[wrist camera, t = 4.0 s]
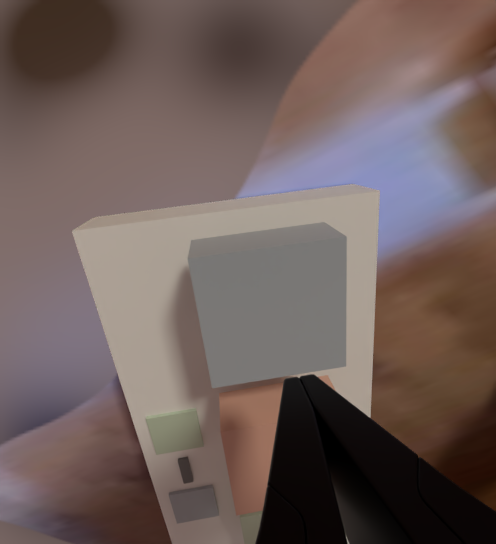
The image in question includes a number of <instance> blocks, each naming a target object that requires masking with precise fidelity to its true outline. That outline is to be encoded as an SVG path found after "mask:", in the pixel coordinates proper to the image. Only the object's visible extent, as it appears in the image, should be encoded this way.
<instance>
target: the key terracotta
mask: <svg viewBox="0 0 496 544" xmlns="http://www.w3.org/2000/svg"><path fill="white" fill-rule="evenodd" d="M318 378H320V379H321V380H322V381H323V382H325V383H326V384H327V385H329V386H330V387H331V388H332V389H334V390H335V388H334V386H333V384H332V382H331V381H330V379H329V377H328V375H325V376H319V377H318ZM283 383H284V382H283ZM283 383H277V384H271V385H265V386H259V387H253V388H247V389H241V390H235V391H229V392H222V393H219V406H220V432H221V438H222V443H223V448H224V453H225V459H226V464H227V469H228V475H229V480H230V485H231V490H232V496H233V501H234V506H235V511H236V516H237V515H242V514H248V513H253V512H258V511H263V506H264V500H265V494H266V488H267V487H268V486H267V483H268V477H269V470H270V464H271V458H272V452H273V445H274V439H275V433H276V427H277V420H278V414H279V408H280V402H281V395H282V389H283ZM335 391H336V390H335Z"/></svg>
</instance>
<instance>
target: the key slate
mask: <svg viewBox="0 0 496 544" xmlns="http://www.w3.org/2000/svg"><path fill="white" fill-rule="evenodd" d="M188 264H189V269H190V275H191V280H192V285H193V290H194V296H195V301H196V306H197V311H198V317H199V322H200V327H201V332H202V338H203V343H204V348H205V354H206V359H207V364H208V369H209V375H210V380H211V385H212V388H218V387H224V386H230V385H236V384H242V383H248V382H254V381H261V380H267V379H273V378H279V377H285V376H291V375H297V374H303V373H309V372H315V371H321V370H327V369H334V368H340V367H346V293H347V236H345V235H343V234H342V233H340V232H339V231H337V230H336V229H334V228H333V227H331V226H330V225H328V224H327V223H325V222H320V223H313V224H306V225H298V226H291V227H284V228H276V229H269V230H261V231H254V232H247V233H239V234H232V235H224V236H217V237H210V238H202V239H195V240H191V244H190V249H189V254H188Z"/></svg>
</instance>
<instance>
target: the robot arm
mask: <svg viewBox="0 0 496 544" xmlns="http://www.w3.org/2000/svg"><path fill="white" fill-rule="evenodd" d="M267 486H268V487H267V488H266V494H265V500H264V506H263V511H262V516H261V521H260V526H259V531H258V534H257V538H256V542H255V544H348V543H347V539H348V542H349V544H496V511H494V510H493V509H491V508H490V507H488V506H487V505H485V504H484V503H482V502H481V501H479V500H478V499H477V498H475V497H474V496H472V495H471V494H469V493H468V492H466V491H465V490H463V489H462V488H461V487H459V486H458V485H456V484H455V483H454V482H452V481H451V480H450V479H448V478H447V477H446V476H444V475H443V474H442V473H440V472H439V471H438V470H436V469H435V468H434V467H433V466H431V465H430V464H429V463H427V462H426V461H425V460H424V459H422V458H421V457H419V458H418V455H417V454H416V453H414V452H413V451H412V450H411V449H409V448H408V447H407V446H405V445H404V444H403V443H402V442H400V441H399V440H398V439H396V438H395V437H394V436H393V435H391V434H390V433H389V432H387V431H386V430H385V429H384V428H382V427H381V426H380V425H379V424H377V423H376V422H375V421H373V420H372V419H371V418H370V417H368V416H367V415H366V414H364V413H363V412H362V411H361V410H359V409H358V408H357V407H355V406H354V405H353V404H352V403H350V402H349V401H348V400H347V399H345V398H344V397H343V396H341V395H340V394H339V393H338V392H336V391H335V390H334V389H332V388H331V387H330V386H329V385H327V384H326V383H325V382H323V381H322V380H321V379H320V378H318V377H317V376H316V375H314V374H309V375H304V376H300V378H298V377H292V378H286V379H285V380H284V383H283V389H282V395H281V402H280V408H279V414H278V420H277V427H276V433H275V439H274V445H273V452H272V458H271V464H270V470H269V477H268V483H267ZM345 534H346V535H345ZM346 537H347V539H346Z"/></svg>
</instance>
